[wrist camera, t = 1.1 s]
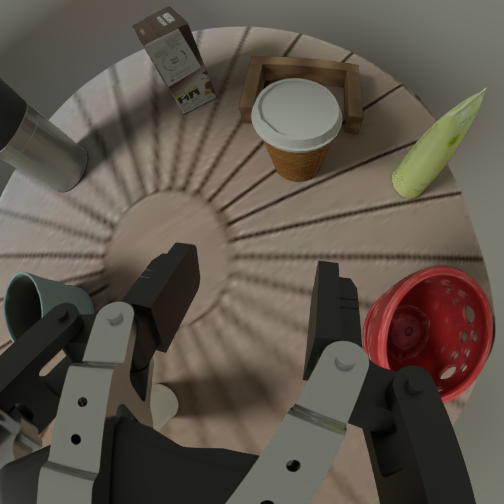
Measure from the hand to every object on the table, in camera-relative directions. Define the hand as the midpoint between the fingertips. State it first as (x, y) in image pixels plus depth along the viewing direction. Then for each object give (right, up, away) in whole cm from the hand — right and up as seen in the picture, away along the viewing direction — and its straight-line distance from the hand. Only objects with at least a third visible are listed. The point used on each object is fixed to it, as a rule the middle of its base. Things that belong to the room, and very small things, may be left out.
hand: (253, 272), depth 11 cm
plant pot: (+18, -9, +21) cm, 29 cm away
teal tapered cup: (-28, -9, +27) cm, 40 cm away
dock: (+8, +25, +28) cm, 38 cm away
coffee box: (-10, +28, +32) cm, 44 cm away
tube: (+21, +10, +24) cm, 34 cm away
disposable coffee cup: (+6, +13, +27) cm, 30 cm away
